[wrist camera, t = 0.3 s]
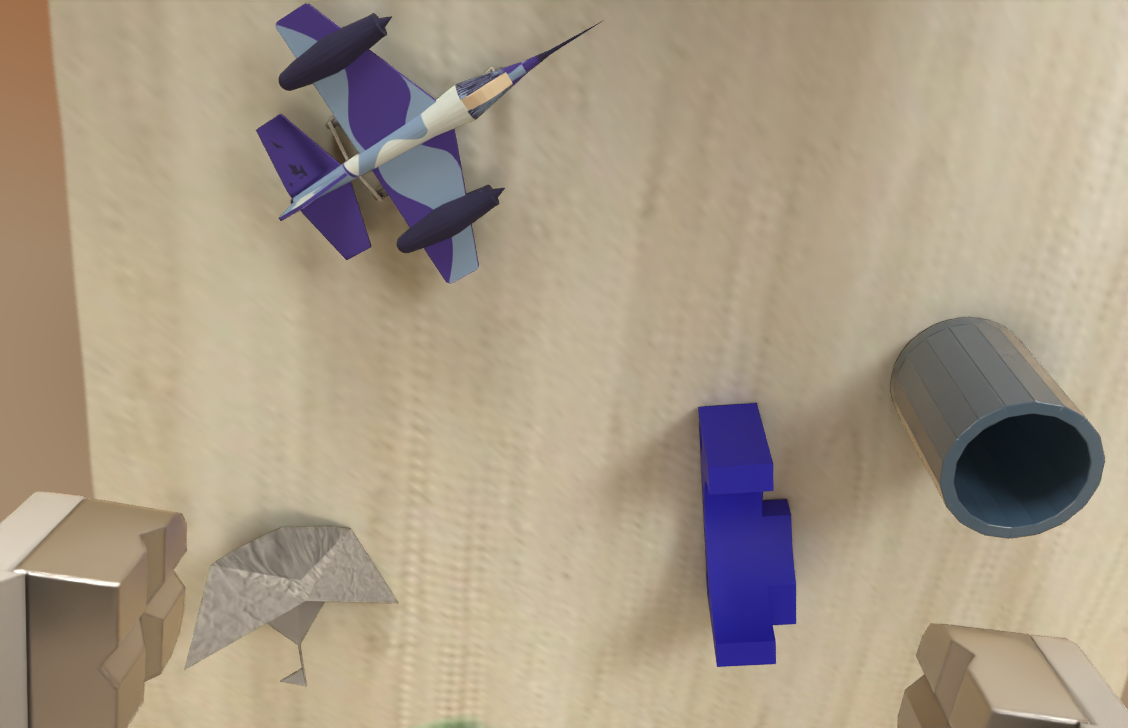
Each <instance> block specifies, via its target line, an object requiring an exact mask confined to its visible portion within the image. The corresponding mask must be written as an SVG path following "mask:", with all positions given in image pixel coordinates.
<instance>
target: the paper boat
mask: <svg viewBox="0 0 1128 728" xmlns="http://www.w3.org/2000/svg"><path fill="white" fill-rule="evenodd" d="M324 602H365V603H398V601H397V600H396V598H395V597H394V595H393V594H392V592H391V591H390V589H389V587H388V586H387V584H386V583H385V581H384V580H383V578H382V577H381V575H380V573H379V572H378V570H377V569H376V567H375V566H374V564H373V563H372V561H371V559H370V558H369V556H368V555H367V553H366V552H365V550H364V549H363V547H362V545H361V544H360V542H359V541H358V539H357V538H356V536H355V534H354V533H353V531H352V530H351V528H343V527H334V526H312V527H286V528H278V529H276V530H274V531H272V532H270V533H268V534H266V535H264V536H262V537H260V538H257V539H255V540H253V541H251V542H249V543H247V544H245V545H243V546H241V547H239V548H237V549H235V550H233V551H231V552H229V553H228V554H226V555H225V556H223V557H222V558H220V559H219V560H217V561H216V562H214V563H213V564H211V565H210V569H209V573H208V577H207V581H206V585H205V589H204V593H203V597H202V601H201V605H200V609H199V613H198V617H197V621H196V625H195V629H194V633H193V637H192V641H191V645H190V649H189V653H188V657H187V661H186V665H185V669H184V670H186V669H187V668H189V667H191V666H193V665H194V664H196V663H198V662H200V661H201V660H203V659H205V658H207V657H208V656H210V655H212V654H214V653H215V652H217V651H219V650H221V649H222V648H224V647H226V646H228V645H229V644H231V643H233V642H235V641H236V640H238V639H240V638H242V637H243V636H245V635H247V634H249V633H250V632H252V631H254V630H256V629H257V628H259V627H261V626H263V625H265V624H266V623H267V624H268V625H270V626H271V627H273V628H274V629H276V630H277V631H278V632H280V633H281V634H283V635H284V636H286V637H287V638H288V639H290V640H291V641H293V642H294V643H295V644H297V645H298V648H299V654H300V660H301V666H302V668H301V669H299V670H298V671H296V672H294V673H292V674H291V675H289V676H287V677H285V678H284V679H282V680H280V682H286V683H291V684H297V685H303V686H305V687H306V686H307V682H306V676H305V670H304V664H303V658H302V652H301V646H300V644H301V643H302V641H303V639H304V637H305V635H306V634H307V632H308V630H309V628H310V627H311V625H312V623H313V621H314V619H315V618H316V616H317V614H318V612H319V610H320V609H321V607H322V605H323V603H324Z"/></svg>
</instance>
